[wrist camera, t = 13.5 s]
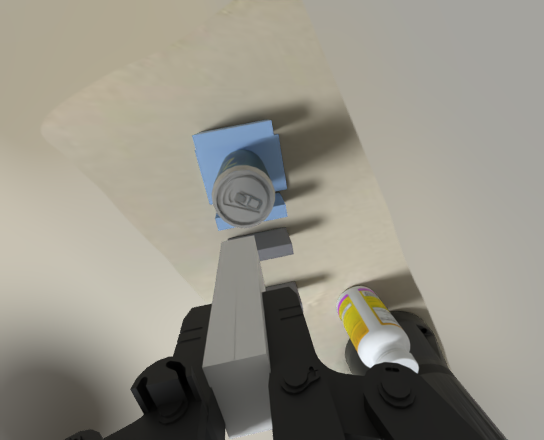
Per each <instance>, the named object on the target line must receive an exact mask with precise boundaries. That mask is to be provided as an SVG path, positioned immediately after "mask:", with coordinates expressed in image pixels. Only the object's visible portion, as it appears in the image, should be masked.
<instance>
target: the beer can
mask: <svg viewBox="0 0 544 440" xmlns="http://www.w3.org/2000/svg"><path fill="white" fill-rule="evenodd" d="M212 202H213V205H214V207H215V209H216V212H217V214H218V215H219V216H220V217H221V219H222V220H223V221H224V222H226V223H228V224H230V225H231V226H234V227H239V228H250V227H253V226H256V225H259V224H260V223H261V222H263V221H264V220H265V219H266V218H267V217H268V216H269V214H270V213H271V211H272V209H273V205H274V202H275V189H274V186H273V184H272V181H271V179H270V177H269V174H268V172H267V170H266V168H265V165H264V163H263V161H262V160H261V159H260V157H259V156H258V155H257V154H255V153H254V152H252V151H248V150H236V151H234V152H231V153H230V154H229V155H228V156H226V157H225V159H224V161H223V162H222V164H221V167H220V169H219V172H218V175H217V177H216V180H215V182H214V185H213V190H212Z"/></svg>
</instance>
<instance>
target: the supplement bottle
mask: <svg viewBox="0 0 544 440" xmlns="http://www.w3.org/2000/svg"><path fill="white" fill-rule="evenodd" d="M336 308H337V312H338V315H339V317H340V319H341V321H342V323H343V325H344V327H345V329H346V331H347V333H348V335H349V337H350V339H351V341H352V343H353V345H354V347H355V349H356V351H357V353H358V355H359V357H360V359H361V360H362V362H363V363H364V364H365V365H366V366H368V367H369V368H371V367H372V366H373V365H375V364H379V363H383V362H392V363H399V364H401V365H404V366H406V367H409V368H411V369H412V370H413V371H415V372H416V373H418V370H419V366H418V363H417V362H416V360H415V359H414V357H413V355H412V354H411V353H409V351H410V341H409V338H408V336H407V334H406V333H405V332H404V330H403V329H402V328H401V326H400V325H399V324H398V322H397V321H396V320H395V319H394V317H393V316H392V315H391V313H390V312H389V311H388V309H387V308H386V307H385V305H384V304H383V303H382V301H381V300H380V299H379V297H378V296H377V295H376V294H375V293H374V291H372V290H371V289H370V288H367V287H364V286H356V287H352V288H350V289H348V290H346V291H344V292H343V293H342V294H341V295H340V297H339V299H338V301H337V305H336Z"/></svg>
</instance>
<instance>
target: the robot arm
mask: <svg viewBox="0 0 544 440" xmlns="http://www.w3.org/2000/svg"><path fill="white" fill-rule="evenodd" d="M390 313H391V315H392V316H393V317H394V319H395V320H396V321H397V322H398V324H399V325H400V326H401V328H402V329H403V330H404V332H405V333H406V334H407V336H408V338H409V341H410V351H409V353H411V354H412V355H413V357H414V359H415V360H416V362H417V363H418V366H419V370H418V373H416V372H415V371H413V370H412V369H411V368H409V367H406V366H404V365H401V364H399V363H392V362H383V363H379V364H375V365H373V366H372V367H371V368H369V367H368V366H366V365H365V364H364V363H363V362H362V360H361V359H360V357H359V355H358V353H357V351H356V349H355V347H354V345H353V343H352V341H351V339H349V341H348V343H347V346H346V350H345V357H346V361H347V364H348V366H349V368H350V371H351V373H352V374H353V375H350V374H344V373H339V372H336V371H334V370H331V369H329V368H328V367H327V366H325V365H324V364H323V363H322V362H321V361H320V360H319V359H318V357H317V355H316V353H315V350H314V347H313V343H312V340H311V337H310V334H309V330H308V327H307V324H306V321H305V318H304V315H303V311H302V308H301V305H300V301H299V298H298V295H297V294H296V293H295V292H294V291H293V290H292V289H291V288H290V287H284V288H279V289H275V290H270V291H266V289H265V283H264V278H263V274H262V269H261V265H260V260H259V256H258V251H257V247H256V242H255V238H254V235H253V236H248V237H243V238H238V239H233V240H228V241H224V242H222V243H221V250H220V256H219V263H218V269H217V275H216V282H215V288H214V295H213V301H212V304H208V305H204V306H199V307H194V308H192V309H191V310H190V311H189V313H188V314H187V316H186V317H185V318H184V320H183V323H182V327H181V330H180V334H179V338H178V341H177V345H176V348H175V351H174V355H173V357H167V358H164V359H161V360H159V361H157V362H155V363H154V364H152V365H150V366H149V367H147V368H146V369H145V370H144V371H143V372H142V373H141V374H140V375H139V376H138V378H137V379H136V380H135V382H134V384H133V385H132V387H131V391H132V393H133V395H134V397H135V399H136V401H137V402H138V404H139V406H140V408H141V409H142V411H143V413H144V415H143V416H142V417H141V418H139V419H138V420H136V421H135V422H133V423H132V424H130V425H128V426H126V427H124V428H122V429H121V430H119V431H117V432H115V433H113V434H111V435H109V436H107V437H106V438H104V439H103V437H102V436H101V434H100V433H99V432H97V431H94V430H85V431H80V432H78V433H76V434H74V435H72V436H70V437H68V438H66V439H65V440H225V428H226V431H227V434H228V436H229V439H233V438H237V437H242V436H246V435H250V434H255V433H259V432H263V431H268V430H273V440H507V439H506V438H505V436H504V435H503V434H502V433H501V432H500V430H499V429H498V428H497V427H496V425H495V424H494V423H493V422H492V421H491V419H490V418H489V417H488V416H487V415H486V413H485V412H484V411H483V410H482V409H481V407H480V406H479V405H478V404H477V402H476V401H475V400H474V399H473V398H472V397H471V395H470V394H469V393H468V392H467V391H466V389H465V388H464V387H463V386H462V385H461V383H460V382H459V381H458V380H457V378H456V377H455V376H454V375H453V373H452V372H451V371H450V370H449V368H448V367H447V364H446V362H445V359H444V357H443V354H442V352H441V350H440V347H439V345H438V342H437V340H436V338H435V335H434V334H433V332H432V331H431V329H430V328H429V327H428V326H427V325H426V324H425V322H424V321H423V320H422V319H421V318H419V317H418V316H416V315H414V314H411V313H408V312H390Z"/></svg>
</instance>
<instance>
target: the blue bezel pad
mask: <svg viewBox="0 0 544 440" xmlns="http://www.w3.org/2000/svg"><path fill="white" fill-rule="evenodd" d="M236 150H248V151H252V152H254V153H255V154H257V155H258V156H259V157H260V159H261V160H262V161H263V163H264V165H265V168H266V170H267V172H268V174H269V177H270V179H271V181H272V184H273V186H274V189H275V191H280V190H285V189H287V185H286V179H285V173H284V166H283V160H282V154H281V148H280V141H279V135H278V134H276V135H274V136H270V137H265V138H260V139H255V140H250V141H245V142H239V143H234V144H229V145H224V146H219V147H214V148H209V149H203V150H198V151H196V150H195V153H196V157H197V160H198V164H199V167H200V171H201V174H202V178H203V182H204V185H205V189H206V192H207V196H208V199H209V203H210V204H213V202H212V190H213V185H214V182H215V180H216V177H217V175H218V172H219V169H220V167H221V164H222V162H223V161H224V159H225V157H226V156H228V155H229V154H230V153H231V152H234V151H236Z"/></svg>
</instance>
